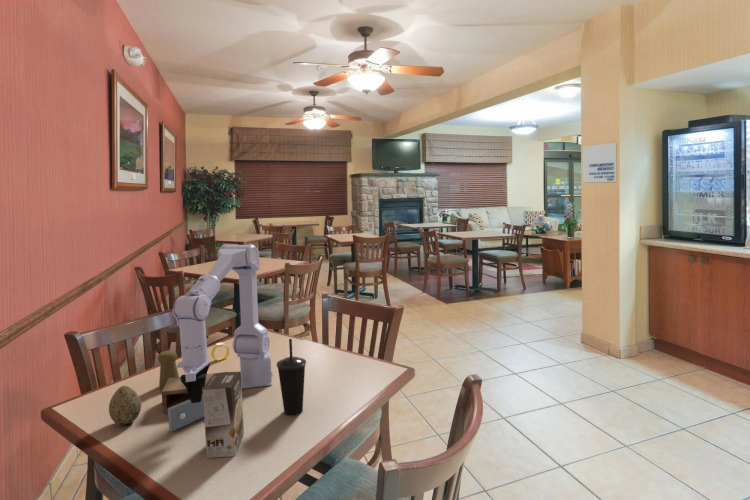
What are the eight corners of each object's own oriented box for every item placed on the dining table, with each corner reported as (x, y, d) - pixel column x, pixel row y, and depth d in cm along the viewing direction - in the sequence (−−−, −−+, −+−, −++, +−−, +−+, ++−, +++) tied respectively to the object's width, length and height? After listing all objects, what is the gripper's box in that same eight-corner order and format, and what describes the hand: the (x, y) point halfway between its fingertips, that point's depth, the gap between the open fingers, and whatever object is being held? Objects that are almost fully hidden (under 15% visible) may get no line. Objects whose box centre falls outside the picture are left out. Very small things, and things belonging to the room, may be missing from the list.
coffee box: (235, 456, 94) (231, 387, 92) (206, 458, 93) (201, 389, 92) (244, 434, 103) (241, 370, 101) (217, 435, 103) (213, 372, 101)
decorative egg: (145, 423, 109) (142, 386, 108) (113, 433, 104) (109, 395, 103) (138, 413, 114) (135, 377, 113) (107, 422, 110) (104, 385, 108)
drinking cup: (283, 421, 109) (279, 346, 106) (275, 408, 115) (272, 337, 113) (311, 414, 112) (309, 340, 110) (302, 402, 119) (299, 333, 116)
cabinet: (228, 391, 127) (227, 371, 126) (225, 405, 118) (224, 384, 117) (170, 398, 123) (169, 378, 122) (163, 413, 114) (161, 391, 113)
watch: (214, 363, 150) (212, 347, 149) (211, 361, 152) (209, 345, 151) (231, 357, 154) (228, 342, 152) (227, 355, 156) (225, 340, 155)
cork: (172, 390, 127) (169, 355, 126) (154, 389, 129) (151, 354, 127) (184, 382, 133) (182, 348, 132) (167, 381, 135) (165, 347, 133)
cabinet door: (227, 403, 118) (226, 384, 117) (233, 405, 117) (232, 386, 116) (169, 430, 105) (167, 408, 104) (175, 433, 103) (173, 411, 103)
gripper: (181, 336, 109) (185, 387, 110) (169, 356, 95) (173, 414, 96) (211, 334, 110) (214, 384, 112) (203, 353, 96) (206, 410, 98)
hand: (197, 397), depth 104 cm, fingers open, 4 cm apart
